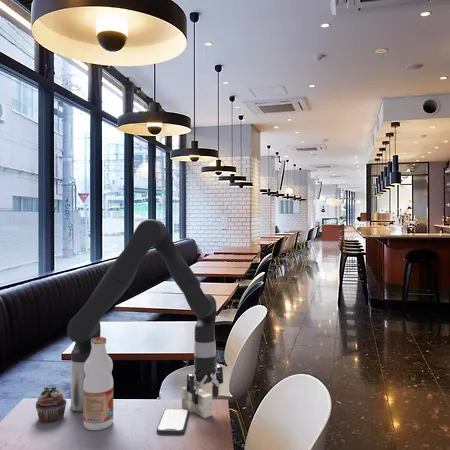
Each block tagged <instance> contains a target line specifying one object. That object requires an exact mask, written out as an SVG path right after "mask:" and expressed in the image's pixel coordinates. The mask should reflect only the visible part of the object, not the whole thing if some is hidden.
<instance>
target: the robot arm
mask: <svg viewBox="0 0 450 450" xmlns="http://www.w3.org/2000/svg"><path fill="white" fill-rule="evenodd" d="M171 237H172V236H171V235H170V232H169V231H168V229H167V227H166V225H165V223H163V222H162V221H161V220H158V219H151V218H150V219H149V218H148V219H147V218H146V219H144V220H142V221H141V222H140V223H139V224H138V225H137V227H136V228H135V230H134V232H133V234H132V236H131V237H130V239H129V241H128V242H127V245H126V246H125V247H124V249H123V250H122V252H121V253H120V254H119V255H118V256H117V258H116V259H115V261H114V262H113V263H112V265H111V266H109V268H108V270H107V271H106V272H105V274H104V275H103V277H102V278H101V280H100V281H99V283H98V284H97V286H96V287H95V289H94V290H93V292H92V293H91V295H90V296H89V298H88V300H87V301H86V303H84V305H83V306H82V307H81V309H80V310H79V311H78V312H77V313H76V314H75V315H74V316H73V317H72V318H71V319H70V321H68V324H67V329H66V333H67V336H68V338H69V340H70V341H72V342H74V346H73V348H72V350H71V352H70V409H71V410H72V411H74V412H82V413H83V384H84V379H85V372H84V364H85V361H86V360H87V359H88V357H89V355H90V352H91V348H92V345H91V339H92V338H96V337H101V321H100V320H101V318H102V317H103V316H104V315H105V313H106V312H107V311H108V310H109V309H111V307H112V306H113V305H114V304H116V302H118V300H120V298H121V297H122V296H123V294H124V293H126V291H127V290H128V288H129V287H130V286H131V284H132V283H133V281H134V279H135V277H136V275H137V273H138V269H139V267H140V265H141V262H142V260H143V259H144V258H145V256H146V255H147V253H149V251H151V249H152V248H153V249H154V250H156V251H157V252H158V254H159V255H160V256H161V258H162V260H163V261H164V264H165V265H166V267H167V269H168V272H169V274H170V276H171V278H172V279H173V281H174V282H175V284H176V285H177V287H178V288H179V290H180V291H181V292H182V293H183V295H184V298H185V300H186V302H187V304H188V306H189V309H190V310H191V312H192V313H193V314H194V315H195V316H196V318H197V319H196V324H195V326H194V344H193V366H194V369H195V370H194V373H193V374H190V373H188V374H187V375H186V386H187V392H189V393H191V394H192V402H193V404H195V405H198V392H199V389H200V388H201V389H202V387H203V386H205V385H206V384H210V383H211V384H212V385H211V387H212V389H211V392H212V394H211V395H212V398H216V399H217V398H218V397H219V394H220V393H219V392H220V391H219V389H220V385H222V384H224V371H223V367H222V366H220V365H218V364H217V345H216V328H215V326H216V325H215V324H216V319H217V308H218V307H217V300H216V299H215V297H214V296H213V295H211V294H209V293H204V291H203V289H202V288H201V282H200V280H199V278H198V277H197V275H196V274H195V272H194V271H193V270H192V269H191V267H190V266H189V264H188V263H187V262H186V261H185V259H184V258H183V256H182V254H181V253H180V251H179V250H178V248H177V247H176V244H175V243H174V241H173V239H172V238H171ZM195 389H196V390H195Z"/></svg>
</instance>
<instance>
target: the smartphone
mask: <svg viewBox="0 0 450 450" xmlns="http://www.w3.org/2000/svg"><path fill="white" fill-rule="evenodd" d="M189 414H190V412H189V411H188V410H186V409H184V408H181V409H179V408H177V409H176V408H173V409H171V408H167V409H164V410H163V412H162V415H161V418H160V421H159V422H158V425H157V428H156V434H157V435H172V436H173V435H176V436H177V435H184V433H185V431H186V427H187V423H188V420H189V419H188V417H189Z"/></svg>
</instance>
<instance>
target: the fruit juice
mask: <svg viewBox="0 0 450 450" xmlns="http://www.w3.org/2000/svg"><path fill="white" fill-rule="evenodd" d="M106 344H107V338H106V337H104V336H100V337H96V338H92V339H91V345H92V348H91V352H90V355H89V357H88V359H87V360H86V361H85V364H84V372H85V379H84V384H83V412H82V413H83V414H82V415H83V416H82V418H83V419H82V420H83V422H82V423H83V427H84V428H85V429H86V430H89V431H101V430H104V429H106V428H107V429H108V428H109V427H111V426H112V424H113V422H114V378H113V375H112V371H113V367H114V363H113V360H112V358H111V357H110V356H109V354H108V352H107V348H106Z"/></svg>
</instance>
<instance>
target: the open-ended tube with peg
mask: <svg viewBox="0 0 450 450" xmlns="http://www.w3.org/2000/svg"><path fill="white" fill-rule="evenodd" d="M195 390H196V389H195ZM182 407H183V408H182ZM181 408H182V409H186V410H188V411H190V412H189V413H191V412H193V413H195V414H196V415H197V416H200V417H201V418H203V419H206V418H208V417H211V416H213V396H212V394H211V393H209V392H207V391H205V390H203V389H202V388H200V389H199V392H198V405H195V404H193V402H192V394H191V393H189V392H187V385H186V386H183V387H181Z"/></svg>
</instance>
